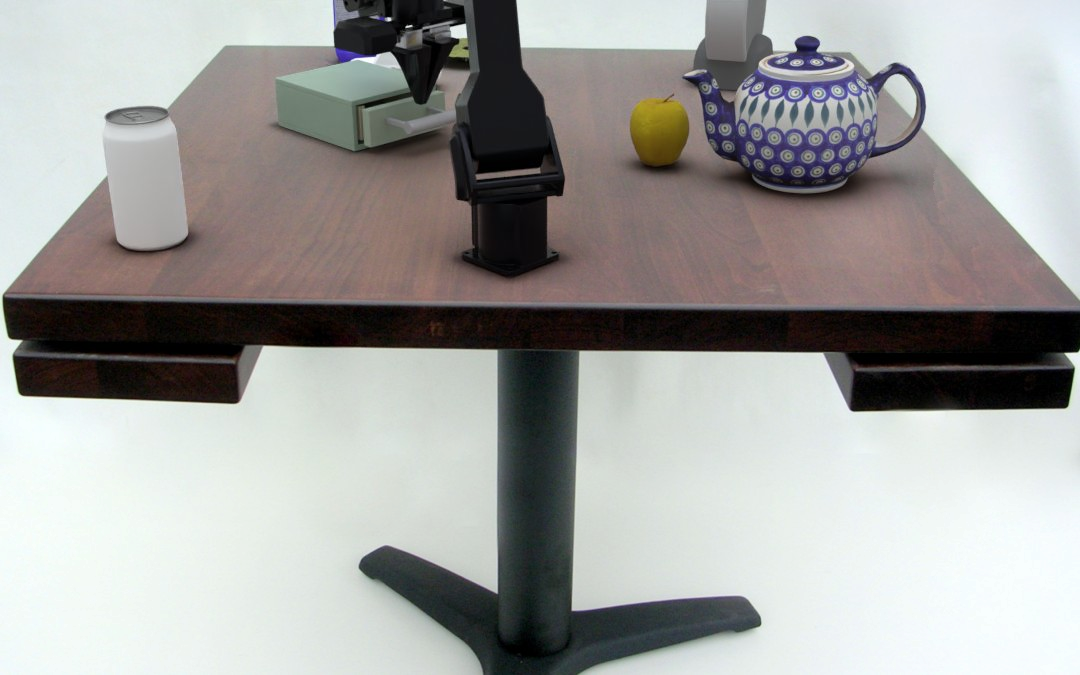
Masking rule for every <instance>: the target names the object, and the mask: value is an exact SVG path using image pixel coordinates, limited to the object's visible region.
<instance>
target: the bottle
mask: <svg viewBox="0 0 1080 675" xmlns="http://www.w3.org/2000/svg"><path fill="white" fill-rule="evenodd" d="M332 10H333V12H332V14H333V29H334V28H335V26H336V25H337V23H338V22H339V21H341V20H346V19H352V18H357V17H359V14H358V11H354V12H348V11H346V9H345V7H344V3H343V0H332ZM370 18H375V19H379V20H383V21H389V19H388V17H387V18H382V17H378V15H376V16H371V17H370ZM334 49H335V50H334V51H335V55H336V57H337V59H338V61H339V62H340V63H345V62H350V61H351V60H353V59H355V58H367V57H376V55H373V56H364V55H361V54H357V53H353V52H349V51H345V50H342V49H338V48H334Z"/></svg>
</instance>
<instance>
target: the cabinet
mask: <svg viewBox="0 0 1080 675" xmlns="http://www.w3.org/2000/svg"><path fill="white" fill-rule="evenodd" d="M274 82H275V95H276V107H277V118H278V126H279V127H282V128H284V129H288V130H291V131H293V132H296V133H299V134H303V135H305V136H308V137H311V138H314V139H317V140H320V141H323V142H325V143H329V144H331V145H335V146H336V147H337V146H338V147H340V148H343V149H346V150H349V151H351V152H357V151H361V150H365V149H369V148H370V147H368V146H365V145H364V140H358V134H357V117H356V105H360V104H364V103H368V102H372V101H376V100H380V99H384V98H388V97H392V96H396V95H400V94H404V93H408V92H410V89H409V87H408V84H407V82H406V79H405V77H404V74H403V72H401V71H398V70H394V69H390V68H387V67H383V66H379V65H376V64H372V63H368V62H365V61H361V60H354V61H350V62H345V63H342V62H340V63H337V64H333V65H328V66H327V65H326V66H322V67H318V68H315V69H310V70H305V71H300V72H296V73H291V74H287V75H281V76H277V77H275V78H274ZM436 83H437V82H436ZM436 83H435V86H434V88H433V90H432V92H433V91H437V87H436Z"/></svg>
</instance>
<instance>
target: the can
mask: <svg viewBox="0 0 1080 675" xmlns="http://www.w3.org/2000/svg"><path fill="white" fill-rule="evenodd" d="M104 120H105V123H104V125H103V129H102V133H101V136H102V137H101V138H102V145H103V154H104V160H105V161H104V162H105V168H106V176H107V182H108V183H107V184H108V190H109V197H110V204H111V210H112V217H113V224H114V231H115V238H116V241H117V243H118V244H120V245H121V246H122V248H124V249H126V250H131V251H134V252H157V251H162V250H167V249H171V248H175V247H177V246H178V245H181V244H182V243H183V242H184V241H185V239H186V238H187V237H188V235H189V226H188V216H187V209H186V200H185V190H184V183H183V182H184V181H183V174H182V164H181V157H180V148H179V147H180V146H179V141H178V133H177V128H176V126H175V124H174V122H173V120H172V119H171V117H170V110H169V109H168V108H165V107H163V106H158V105H131V106H124V107H119V108H116V109H112V110H109V111H108V112H107V113H105V115H104Z"/></svg>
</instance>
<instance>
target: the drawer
mask: <svg viewBox="0 0 1080 675" xmlns="http://www.w3.org/2000/svg"><path fill="white" fill-rule="evenodd" d="M356 117H357V134H358V140H364V145H365V146H368V147H369V148H375V147H378V146H382V145H384V144H389V143H393V142H397V141H400V140H403V139H407V138H411V137H415V136H417V135H422V134H425V133H429V132H432V131H436V130H439V129H443V128H446V127H447V126H446V125H451V124H455V123H457V122H456V110H455V108H454V109H449V110H446V96H445V91H441V90H437V89H436V91H433V92H431V95H430V97H429V99H428V101H427V103H426V104H423V105H419V104H416V103H415V101H414V99H413V96H412V94H411V92H408V93H404V94H400V95H396V96H392V97H388V98H384V99H380V100H376V101H372V102H368V103H364V104H360V105H356Z"/></svg>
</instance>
